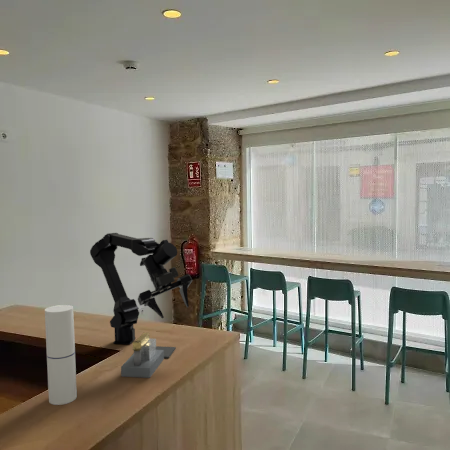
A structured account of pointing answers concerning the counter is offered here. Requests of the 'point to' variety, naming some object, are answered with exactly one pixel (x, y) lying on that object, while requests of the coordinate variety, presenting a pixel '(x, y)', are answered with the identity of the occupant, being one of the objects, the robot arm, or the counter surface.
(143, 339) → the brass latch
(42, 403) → the counter surface
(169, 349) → the rubber mat
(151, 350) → the lever cap
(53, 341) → the cylindrical container
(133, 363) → the body
